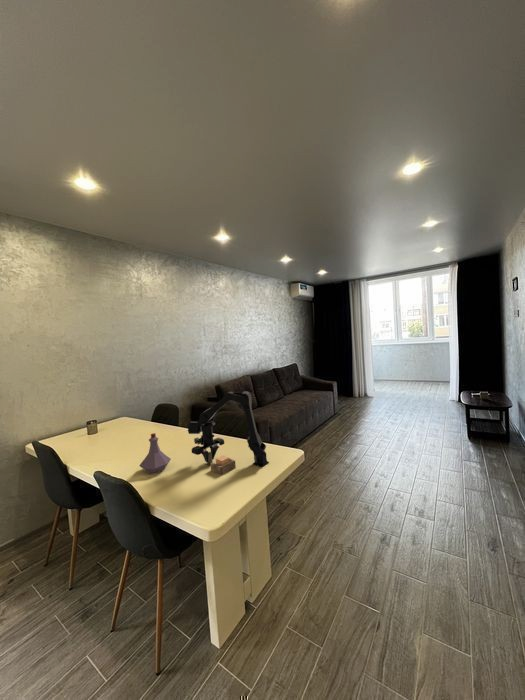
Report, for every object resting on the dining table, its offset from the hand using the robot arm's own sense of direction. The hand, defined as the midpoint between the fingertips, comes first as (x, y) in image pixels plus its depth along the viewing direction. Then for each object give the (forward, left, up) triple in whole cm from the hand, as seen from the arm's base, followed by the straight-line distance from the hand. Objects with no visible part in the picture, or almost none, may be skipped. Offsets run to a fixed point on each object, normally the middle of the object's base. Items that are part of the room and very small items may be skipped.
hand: (209, 460), depth 150 cm
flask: (+20, +22, -2) cm, 29 cm away
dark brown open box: (-12, 0, -2) cm, 12 cm away
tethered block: (-7, 0, -1) cm, 7 cm away
